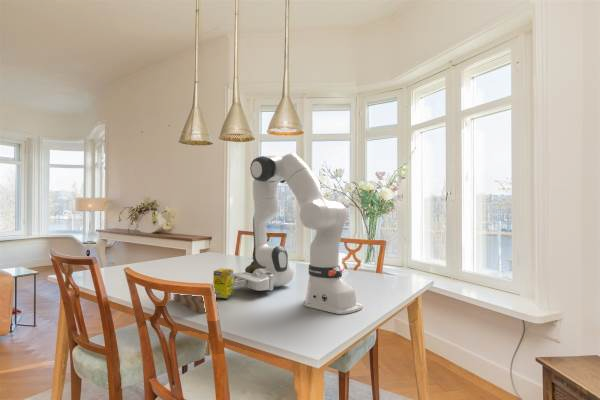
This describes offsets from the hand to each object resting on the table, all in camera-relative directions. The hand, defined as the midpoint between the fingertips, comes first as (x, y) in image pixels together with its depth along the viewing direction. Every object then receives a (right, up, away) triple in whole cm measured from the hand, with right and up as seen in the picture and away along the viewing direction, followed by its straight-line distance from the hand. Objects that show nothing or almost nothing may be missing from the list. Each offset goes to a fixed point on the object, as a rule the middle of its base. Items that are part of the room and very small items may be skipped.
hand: (233, 283), depth 139 cm
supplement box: (-3, -5, -3) cm, 7 cm away
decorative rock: (+7, -6, +38) cm, 39 cm away
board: (-13, -5, -14) cm, 20 cm away
